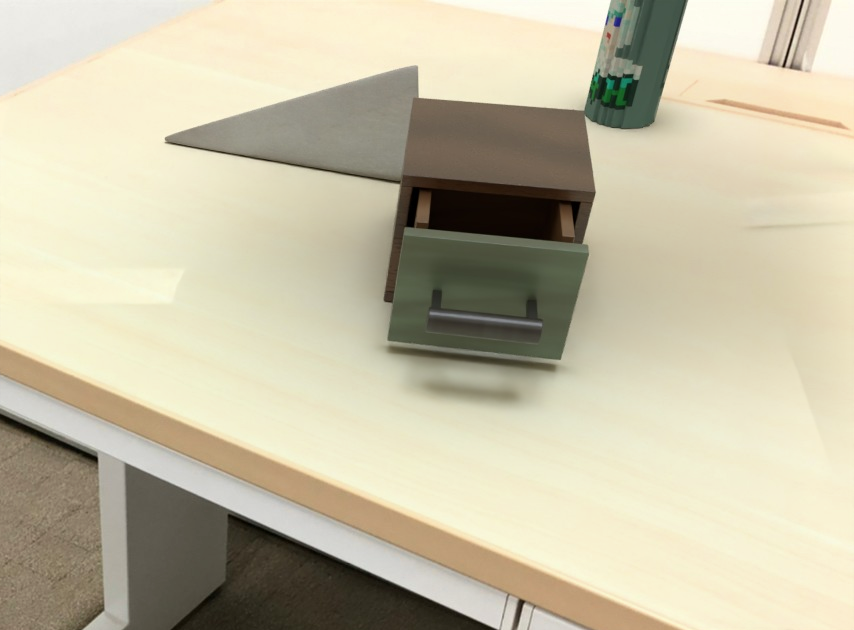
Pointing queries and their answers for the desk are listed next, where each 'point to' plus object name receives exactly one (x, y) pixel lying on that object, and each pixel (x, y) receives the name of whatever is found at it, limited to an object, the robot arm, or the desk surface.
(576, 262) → the drawer
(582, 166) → the cabinet
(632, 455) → the desk surface
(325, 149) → the grey triangular wedge
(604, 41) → the can
